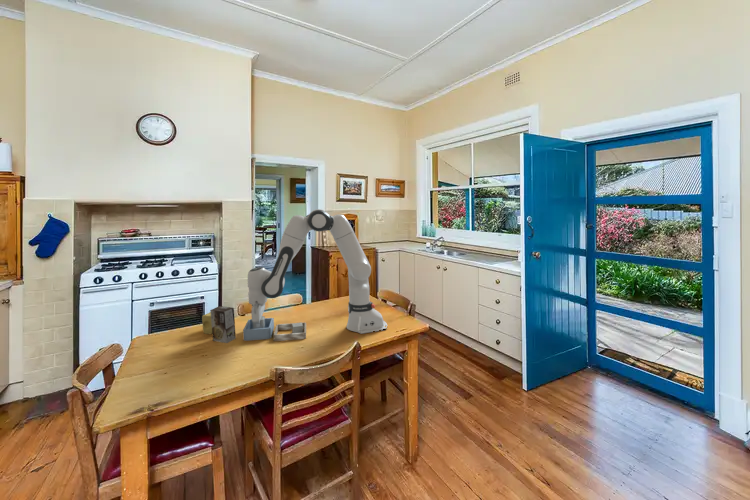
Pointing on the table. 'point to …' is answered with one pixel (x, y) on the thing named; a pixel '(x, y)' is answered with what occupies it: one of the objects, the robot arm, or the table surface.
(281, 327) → the corral
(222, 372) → the table surface
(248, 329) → the bin
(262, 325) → the stone
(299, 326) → the stone
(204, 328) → the cheese
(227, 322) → the coffee box
